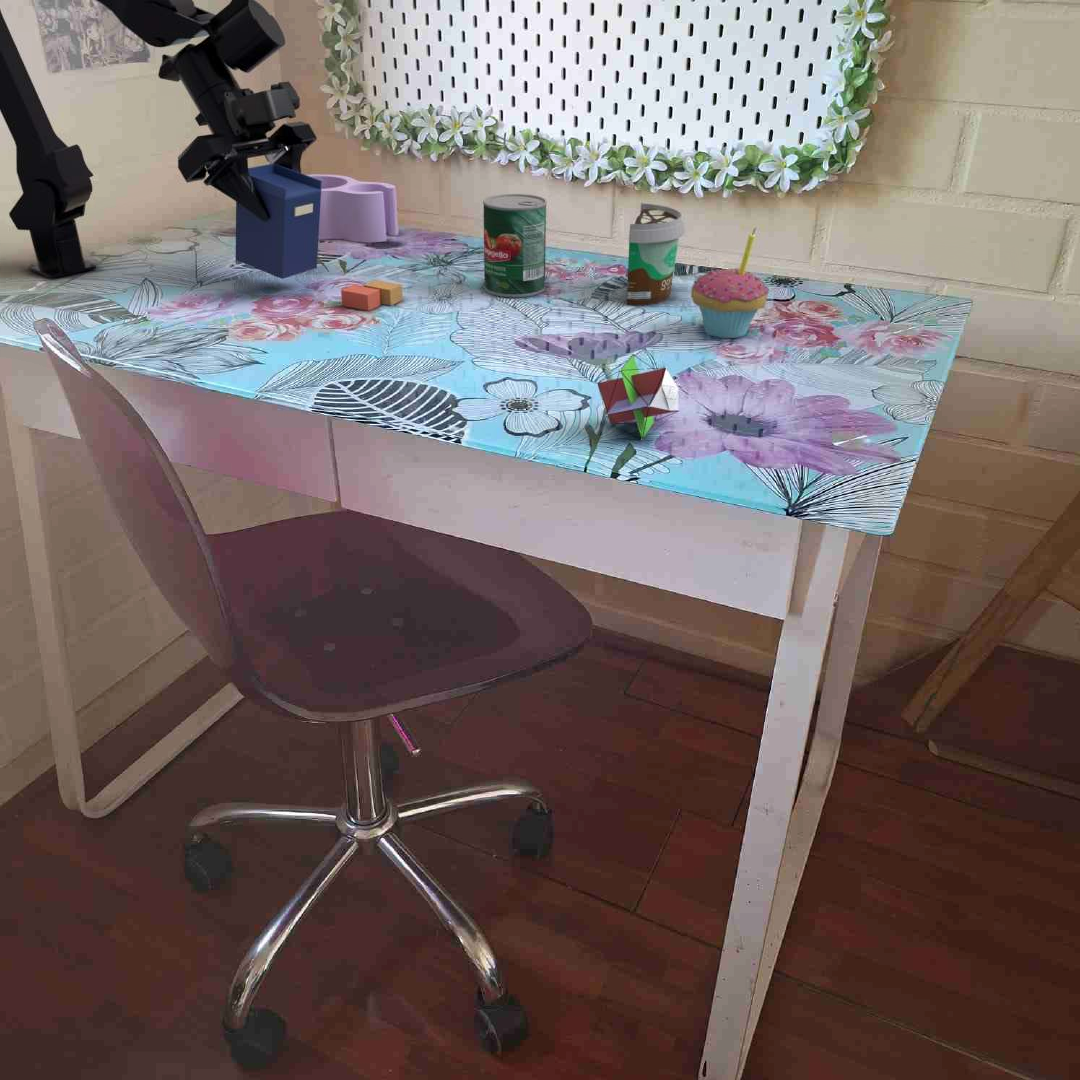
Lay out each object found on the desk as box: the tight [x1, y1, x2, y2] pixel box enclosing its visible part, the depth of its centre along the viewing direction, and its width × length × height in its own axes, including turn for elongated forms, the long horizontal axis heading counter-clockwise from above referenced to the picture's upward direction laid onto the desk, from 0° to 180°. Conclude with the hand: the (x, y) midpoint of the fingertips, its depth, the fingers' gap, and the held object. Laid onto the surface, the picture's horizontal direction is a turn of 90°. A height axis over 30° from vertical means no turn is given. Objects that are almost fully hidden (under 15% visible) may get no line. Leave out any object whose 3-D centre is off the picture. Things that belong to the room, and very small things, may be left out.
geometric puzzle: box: [596, 353, 680, 441], centre depth 89 cm, size 7×7×8 cm
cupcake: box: [690, 227, 770, 339], centre depth 111 cm, size 9×8×12 cm
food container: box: [625, 202, 686, 306], centre depth 123 cm, size 12×6×10 cm, turn 168°
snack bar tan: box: [363, 279, 404, 307], centre depth 122 cm, size 4×2×2 cm, turn 62°
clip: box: [306, 173, 399, 243], centre depth 150 cm, size 20×12×7 cm, turn 69°
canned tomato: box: [482, 193, 548, 298], centre depth 124 cm, size 8×8×11 cm
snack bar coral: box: [340, 284, 382, 312], centre depth 120 cm, size 4×2×2 cm, turn 62°
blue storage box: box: [235, 163, 322, 280], centre depth 122 cm, size 8×7×11 cm
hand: (286, 214), depth 121 cm, fingers closed on blue storage box, 6 cm apart
